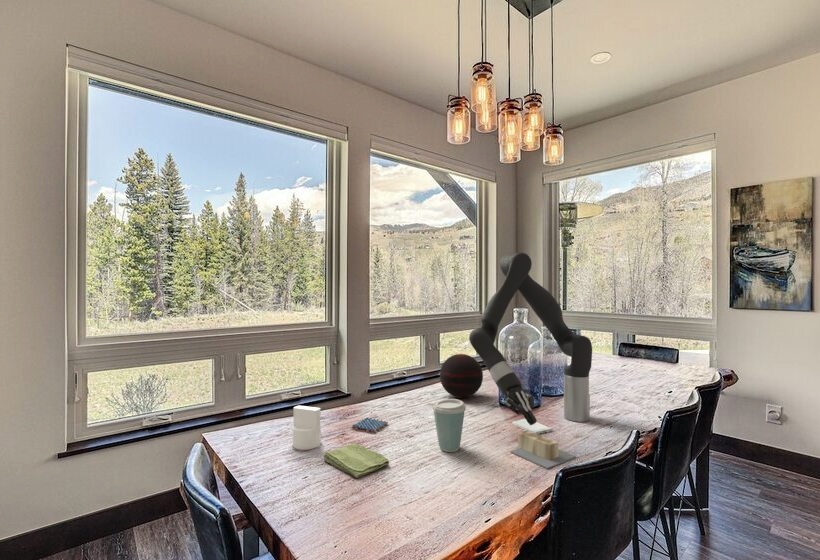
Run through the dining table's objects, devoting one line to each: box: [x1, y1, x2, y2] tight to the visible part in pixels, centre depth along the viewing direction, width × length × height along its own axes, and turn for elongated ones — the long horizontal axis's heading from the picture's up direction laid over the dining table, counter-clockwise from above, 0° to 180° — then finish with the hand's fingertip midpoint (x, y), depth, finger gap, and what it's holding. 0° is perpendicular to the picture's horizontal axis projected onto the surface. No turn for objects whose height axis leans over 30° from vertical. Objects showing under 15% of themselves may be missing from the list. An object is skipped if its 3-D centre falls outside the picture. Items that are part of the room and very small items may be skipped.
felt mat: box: [510, 447, 577, 470], centre depth 130 cm, size 14×14×1 cm
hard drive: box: [511, 418, 553, 435], centre depth 154 cm, size 2×8×12 cm
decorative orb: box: [439, 353, 484, 399], centre depth 194 cm, size 20×20×20 cm
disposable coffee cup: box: [432, 398, 466, 453], centre depth 135 cm, size 11×11×15 cm
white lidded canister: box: [292, 405, 322, 451], centre depth 137 cm, size 9×9×12 cm
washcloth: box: [323, 443, 390, 479], centre depth 123 cm, size 13×18×3 cm
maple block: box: [517, 430, 560, 460], centre depth 131 cm, size 4×4×12 cm
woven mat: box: [351, 417, 389, 435], centre depth 153 cm, size 10×11×2 cm
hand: (533, 423), depth 133 cm, fingers closed
